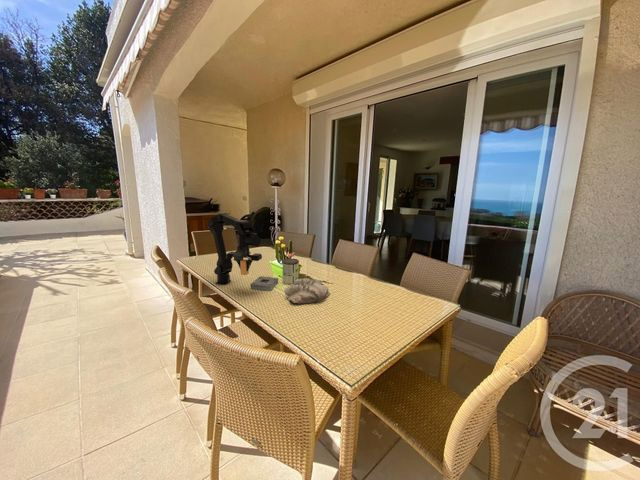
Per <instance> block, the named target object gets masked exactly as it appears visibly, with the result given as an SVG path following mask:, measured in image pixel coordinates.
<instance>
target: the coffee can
mask: <svg viewBox="0 0 640 480" xmlns="http://www.w3.org/2000/svg"><path fill="white" fill-rule="evenodd" d="M281 262H282V281H281V282H282V284H284V285H287V286H291V285H292V286H293V285H294V283H295V280H296V279H299V266H300V265H299V263H300V261H299V259H297V258H284V259H283V260H282V261H281Z"/></svg>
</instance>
